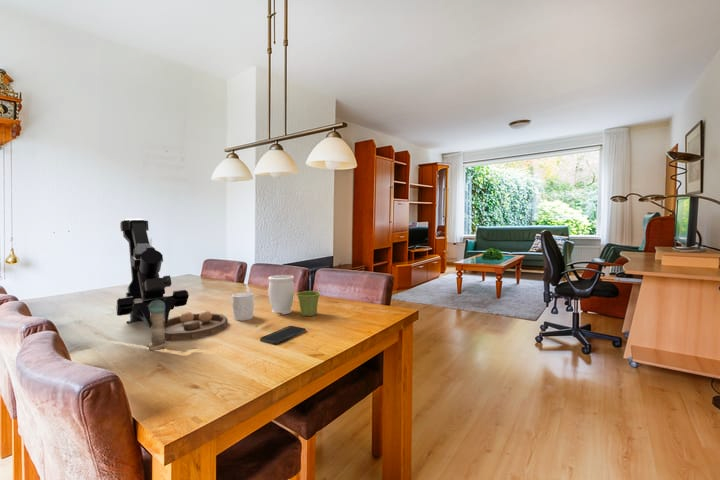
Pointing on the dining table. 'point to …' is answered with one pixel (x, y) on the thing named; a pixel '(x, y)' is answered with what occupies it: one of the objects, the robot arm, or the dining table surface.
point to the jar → (281, 293)
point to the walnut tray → (193, 327)
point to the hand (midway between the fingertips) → (158, 325)
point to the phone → (282, 335)
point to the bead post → (157, 325)
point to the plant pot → (308, 302)
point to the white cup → (243, 305)
